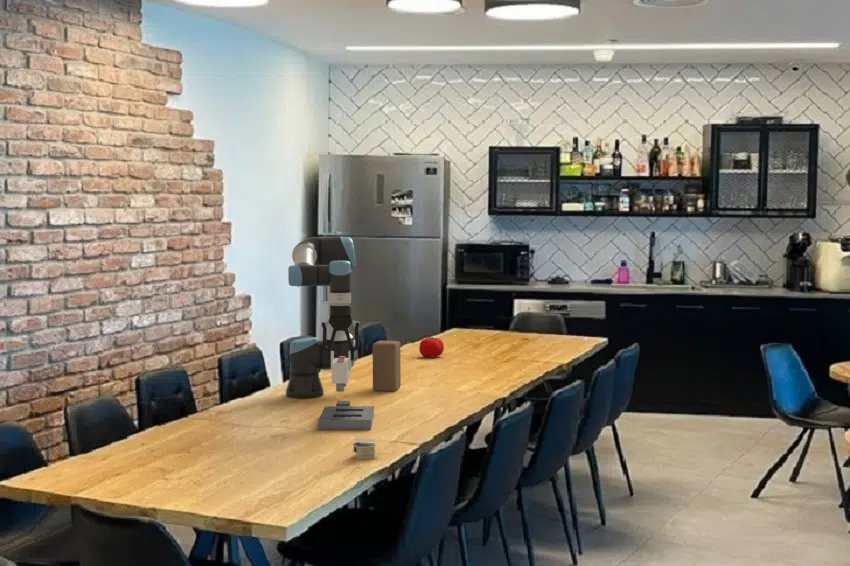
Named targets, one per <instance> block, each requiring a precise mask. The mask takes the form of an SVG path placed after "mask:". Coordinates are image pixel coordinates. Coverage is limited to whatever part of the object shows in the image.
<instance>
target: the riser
mask: <svg viewBox="0 0 850 566" xmlns="http://www.w3.org/2000/svg"><path fill="white" fill-rule="evenodd" d="M335 406H351V400H337V401H336V404H335Z"/></svg>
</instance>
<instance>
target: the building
mask: <svg viewBox="0 0 850 566" xmlns="http://www.w3.org/2000/svg"><path fill="white" fill-rule="evenodd" d="M352 441H354V442H353V443H352V445H353V449H352V452H353V453H354V454H356V459H358V460H364V459H375V454H376V449H375V448H376V447H377V446H376V439H375V438H363V437H360V438H359V437H356V438H353V439H352Z"/></svg>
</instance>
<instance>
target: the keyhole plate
mask: <svg viewBox="0 0 850 566" xmlns="http://www.w3.org/2000/svg"><path fill="white" fill-rule="evenodd" d="M374 418H375V406H374V405H362V406H360V405H358V406H357V405H355V406H354V405H352V406H351V405H350V406H336V405H335V406H334V405H333V406H332V405H329V406H328V405H327V406H326V405H325V406H324V408H323V409H322V412H321V414H320V415H319V417H318V420H317V421H318V427H317V428H318V431H351V430H352V431H357V430H358V431H359V430H360V431H371V430H372V426H373V422H374Z"/></svg>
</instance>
